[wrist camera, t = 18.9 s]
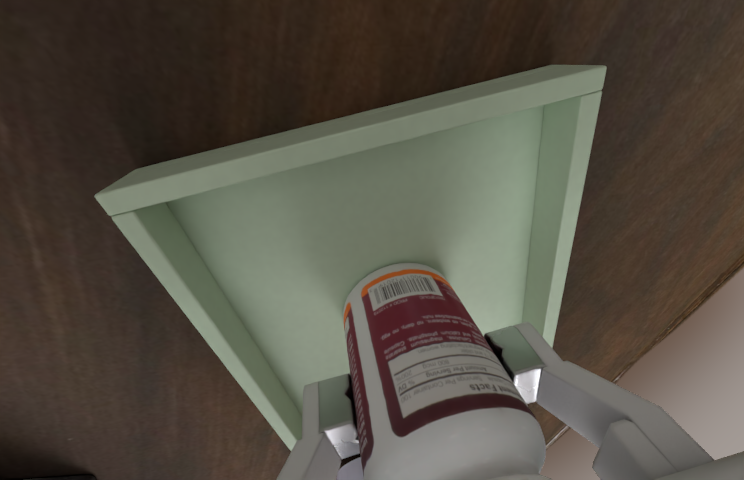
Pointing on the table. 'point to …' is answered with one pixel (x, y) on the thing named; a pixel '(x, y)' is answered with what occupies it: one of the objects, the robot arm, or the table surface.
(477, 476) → the pill bottle
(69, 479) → the camera
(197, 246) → the tray
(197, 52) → the table surface
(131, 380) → the table surface
